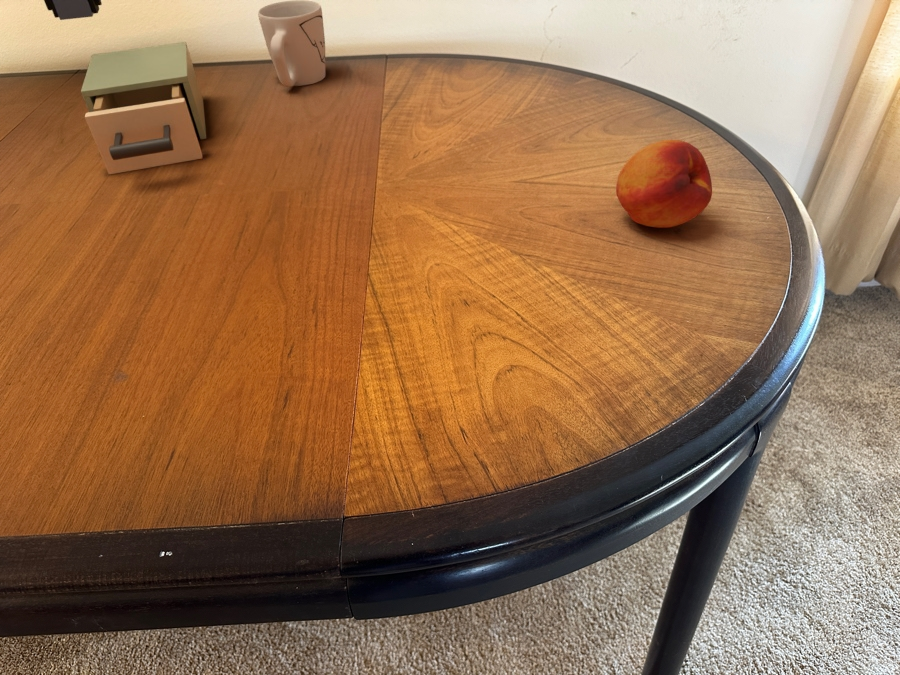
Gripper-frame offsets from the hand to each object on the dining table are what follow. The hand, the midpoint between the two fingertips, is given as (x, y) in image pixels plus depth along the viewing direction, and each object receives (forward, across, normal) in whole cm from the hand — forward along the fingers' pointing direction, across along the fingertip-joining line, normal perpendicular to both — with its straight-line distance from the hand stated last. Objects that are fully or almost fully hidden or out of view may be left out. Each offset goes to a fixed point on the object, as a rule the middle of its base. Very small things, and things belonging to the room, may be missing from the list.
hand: (77, 11), depth 96 cm
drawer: (+8, +10, -36) cm, 38 cm away
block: (0, 0, 0) cm, 0 cm away
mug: (+9, +29, -20) cm, 36 cm away
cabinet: (+9, +10, -28) cm, 31 cm away
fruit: (+9, +56, -70) cm, 90 cm away
